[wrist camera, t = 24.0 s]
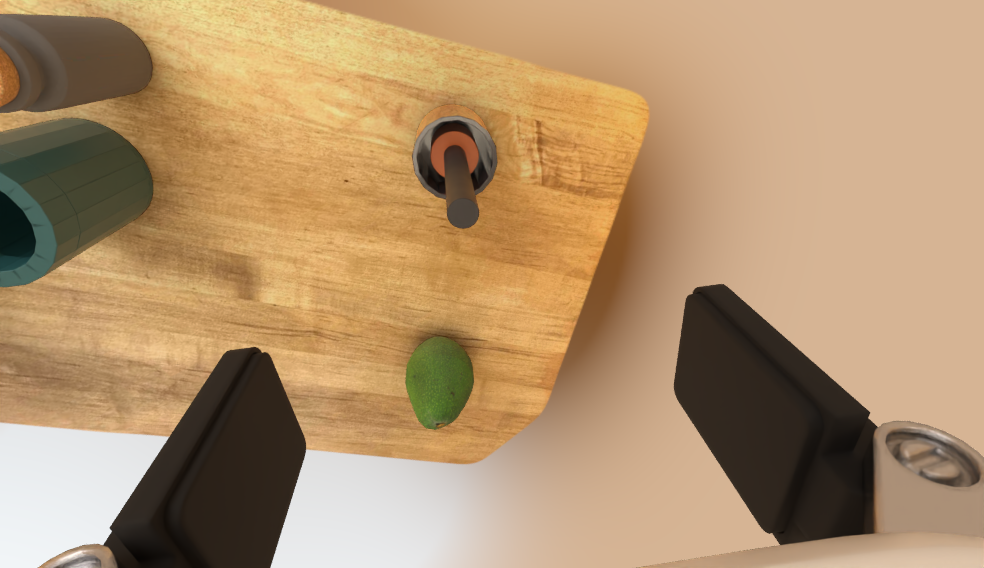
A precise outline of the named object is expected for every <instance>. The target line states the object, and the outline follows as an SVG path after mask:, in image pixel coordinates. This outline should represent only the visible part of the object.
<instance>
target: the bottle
mask: <svg viewBox="0 0 984 568" xmlns="http://www.w3.org/2000/svg"><path fill="white" fill-rule="evenodd" d="M151 75H152V62H151V58H150V55H149V53H148V50H147V49H146V47H145V45H144V44H143V42H142V41H141V40H140V39H139V37H138V36H137V35H136V34H135V33H134V32H132V31H131V30H130V29H129V28H127V27H126V26H124V25H122V24H121V23H118V22H116V21H113V20H110V19H105V18H97V17H77V16H53V15H24V14H0V113H9V112H15V111H20V110H24V111H30V112H45V111H51V110H57V109H63V108H68V107H73V106H77V105H82V104H87V103H91V102H96V101H101V100H106V99H110V98H115V97H119V96H124V95H128V94H132V93H135V92H138V91H140V90H142V89H143V88H145V87H146V86H147V84H148V83H149V81H150V79H151Z"/></svg>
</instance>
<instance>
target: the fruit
mask: <svg viewBox="0 0 984 568" xmlns="http://www.w3.org/2000/svg"><path fill="white" fill-rule="evenodd" d="M405 383H406V388H407V392H408V395H409V398H410V401H411V403H412V406H413V409H414V411H415V414H416V416H417V418H418V420H419V422H420V423H421V424H422V425H424V426H425V427H426V428H428V429H434V430H436V429H439V428H442V427H444V426H446V425H448V424H450V423H452V422H453V421H454V420H455V419H456V418H457V417H458V416H459V414H460V412H461V411H462V409H463V408H464V407H465V405H466V403H467V401H468V399H469V396H470V394H471V391H472V388H473V383H474V378H473V367H472V363H471V360H470V358H469V356H468V355H467V353H466V352H465V350H464V349H463V348H462V347H461V346H460V345H459V344H457V343H456V342H455V341H453V340H451V339H449V338H446V337H442V336H436V337H432V338H429V339H427V340H426V341H424V342H423V343H422V344H420V345H419V346H418V347H417V348H416V349H415V351H414V352H413V354H412V356H411V357H410V359H409V361H408V364H407V369H406V381H405Z"/></svg>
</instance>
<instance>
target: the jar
mask: <svg viewBox="0 0 984 568" xmlns="http://www.w3.org/2000/svg"><path fill="white" fill-rule="evenodd" d="M152 194H153V183H152V178H151V174H150V171H149V169H148V167H147V165H146V163H145V161H144V160H143V158H142V157H141V155H140V154H139V153H138V151H137V150H136V149H135V148H134V147H133V146H132V145H131V144H130V143H129V142H128V141H127V140H126V139H124V138H123V137H122V136H120V135H119V134H117V133H116V132H114V131H113V130H111V129H109V128H107V127H105V126H103V125H101V124H98V123H95V122H92V121H89V120H84V119H78V118H63V119H58V120H50V121H46V122H42V123H37V124H33V125H29V126H25V127H20V128H16V129H12V130H7V131H3V132H0V287H11V286H19V285H26V284H29V283H31V282H33V281H35V280H37V279H39V278H41V277H43V276H45V275H46V274H48V273H50V272H51V271H53V270H54V269H56V268H58V267H59V266H61V265H62V264H64V263H65V262H67V261H69V260H70V259H72V258H74V257H75V256H77V255H79V254H80V253H82V252H83V251H85V250H87V249H88V248H90V247H91V246H93V245H95V244H96V243H98V242H99V241H101V240H103V239H104V238H106V237H107V236H109V235H111V234H112V233H114V232H115V231H117V230H119V229H120V228H122V227H123V226H125V225H127V224H128V223H130V222H131V221H133V220H135V219H136V218H138V217H139V216H140V215H141V214H142V213H143V212H144V211H145V210H146V209H147V207H148V206H149V204H150V202H151V199H152Z"/></svg>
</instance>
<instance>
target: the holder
mask: <svg viewBox="0 0 984 568" xmlns="http://www.w3.org/2000/svg"><path fill="white" fill-rule="evenodd" d="M450 123H456V124H460V125H463V126H464V127H466V128H467V129H468V130H469V131H470V132H471V133H472V135H473V137H474V139H475V142H476V145H477V148H478V152H479V160H478V164H477V166H476V168H475V169H474V171H473V172H472V173H471V174H470V175H471V179H472V183H473V188H474V192H475V195H477V194H479V193H481V192H482V191H483V190H484V189H485V188H486V186H487V185H488V184H489V183H490V182H491V180H492V179H493V176H494V173H495V170H496V167H497V152H496V146H495V144H494V142H493V140H492V138H491V136H490V134H489V132H488V130H487V128H486V126H485V124H484V122H483V120H482V119H481V118H480V117H479V116H478V115H477V114H476V113H475V112H473V111H472V110H471V109H469V108H467V107H464V106H461V105H456V104H447V105H442V106H439V107H437V108H435V109H433V110H432V111H430V112H429V113H428V114H427V115H426V116H425V117H424V118H423V120H422V121H421V123H420V124H419V126H418V130H417V135H416V139H415V144H414V149H413V154H412V159H413V165H414V171H415V174H416V176H417V177H418V179H419V180H420V182H421V184H422V185H423V187H424V188H425V189H427V190H428V191H429V192H431V193H432V194H434V195H435V196H436V197H439V198H443V199H446V187H445V177H443V176H441V175H440V174H439V173H438V172H437V171H436V170H435V169H434V167H433V165H432V162H431V157H430V153H431V140H432V137H433V135H434V133H435V132H436V131H437V130H438V129H439V128H440V127H441V126H443V125H446V124H450Z"/></svg>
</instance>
